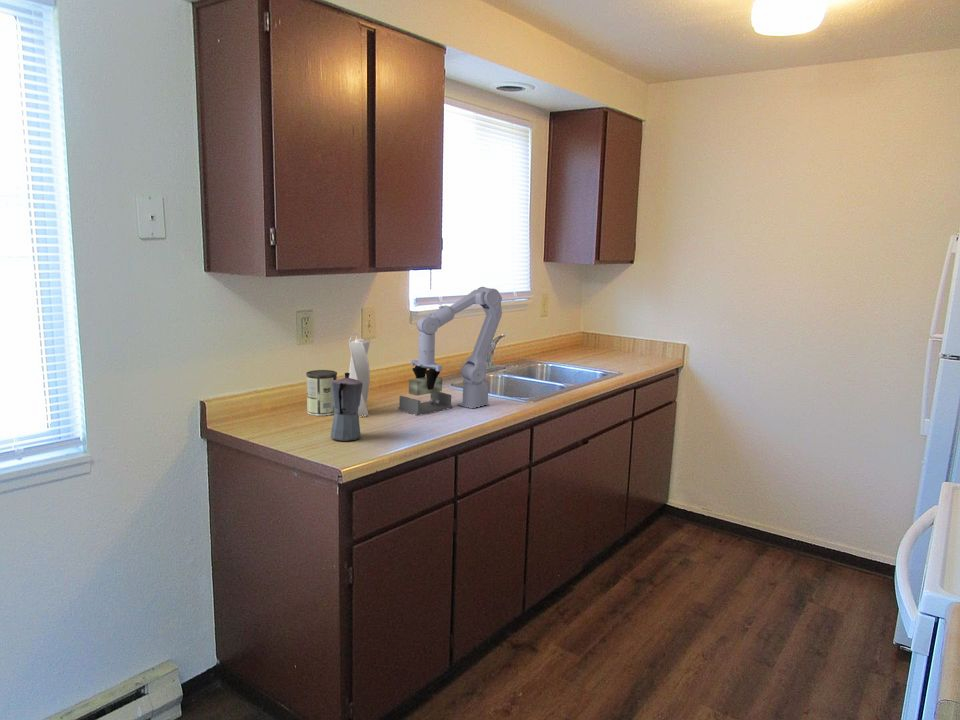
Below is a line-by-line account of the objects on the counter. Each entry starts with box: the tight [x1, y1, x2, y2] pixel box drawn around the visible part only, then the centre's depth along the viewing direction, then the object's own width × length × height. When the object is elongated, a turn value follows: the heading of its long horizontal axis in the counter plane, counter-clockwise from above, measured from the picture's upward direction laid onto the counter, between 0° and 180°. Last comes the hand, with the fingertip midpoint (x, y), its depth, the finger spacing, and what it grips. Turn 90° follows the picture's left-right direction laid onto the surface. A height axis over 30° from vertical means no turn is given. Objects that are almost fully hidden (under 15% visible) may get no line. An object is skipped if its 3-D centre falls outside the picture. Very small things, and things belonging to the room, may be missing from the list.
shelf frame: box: [397, 391, 453, 416], centre depth 240 cm, size 17×10×5 cm, turn 137°
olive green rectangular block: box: [408, 376, 443, 397], centre depth 239 cm, size 12×4×5 cm, turn 137°
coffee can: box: [305, 369, 338, 417], centre depth 229 cm, size 10×10×14 cm
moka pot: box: [329, 372, 363, 442], centre depth 199 cm, size 10×15×20 cm, turn 2°
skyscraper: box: [348, 333, 371, 418], centre depth 227 cm, size 8×8×28 cm
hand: (425, 388), depth 239 cm, fingers closed on olive green rectangular block, 4 cm apart
